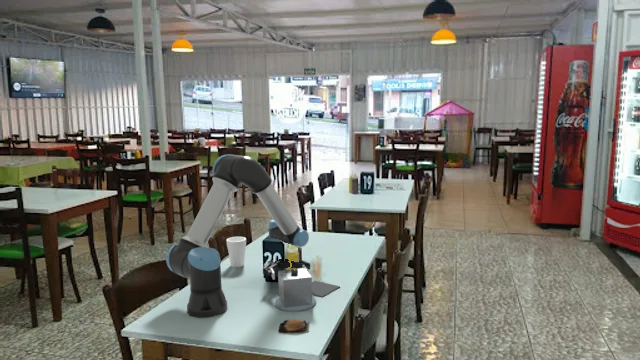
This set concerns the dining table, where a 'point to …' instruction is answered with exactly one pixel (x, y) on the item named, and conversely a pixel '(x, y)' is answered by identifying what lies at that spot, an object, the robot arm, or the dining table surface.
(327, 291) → the mat
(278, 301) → the plate with peach cylinder
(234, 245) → the foam cup
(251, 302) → the dining table surface
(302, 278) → the food cover
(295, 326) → the bread roll
